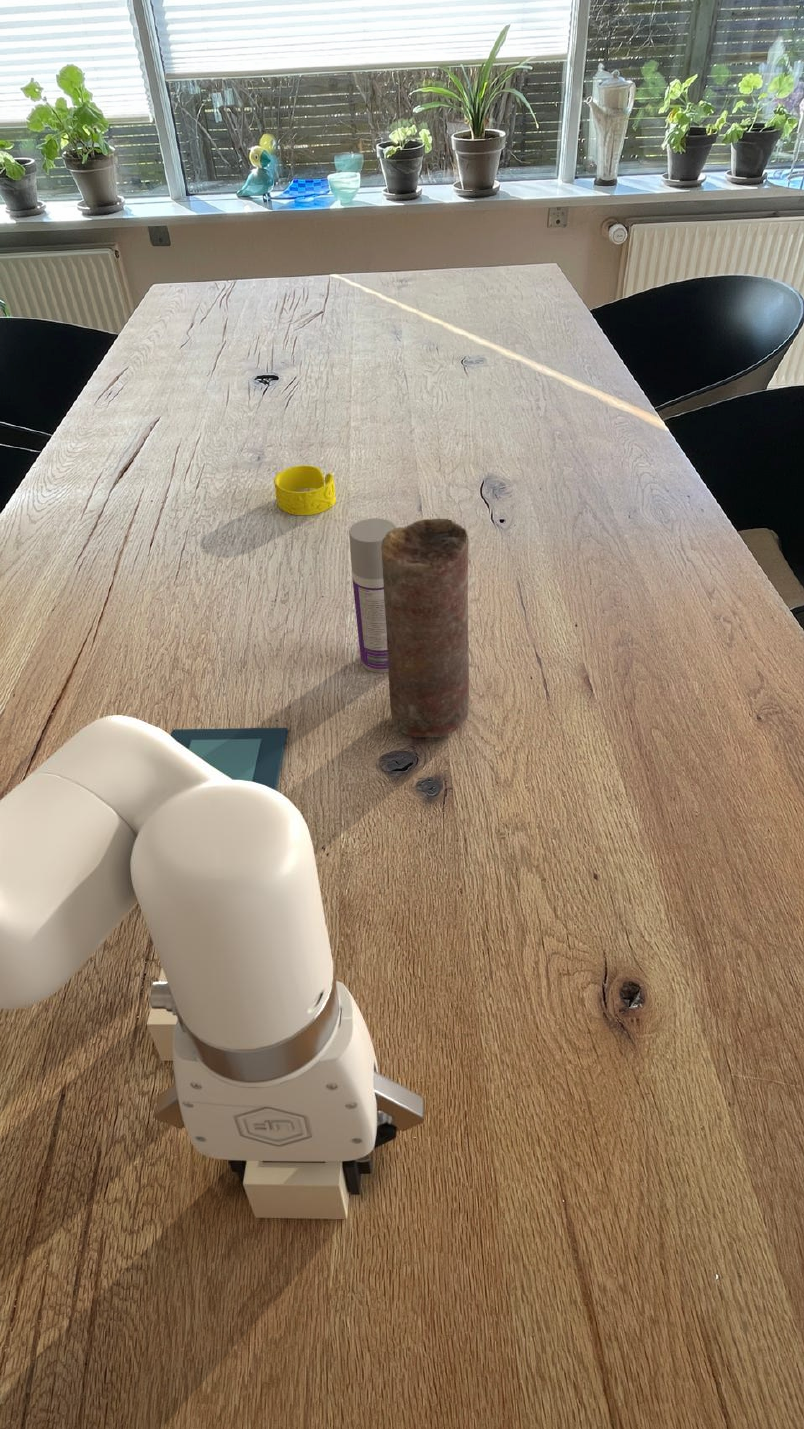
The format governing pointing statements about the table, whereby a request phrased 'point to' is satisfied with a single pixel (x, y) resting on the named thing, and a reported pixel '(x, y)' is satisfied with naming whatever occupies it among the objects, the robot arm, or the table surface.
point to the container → (370, 591)
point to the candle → (427, 626)
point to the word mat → (238, 751)
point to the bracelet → (307, 500)
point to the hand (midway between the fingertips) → (305, 1167)
